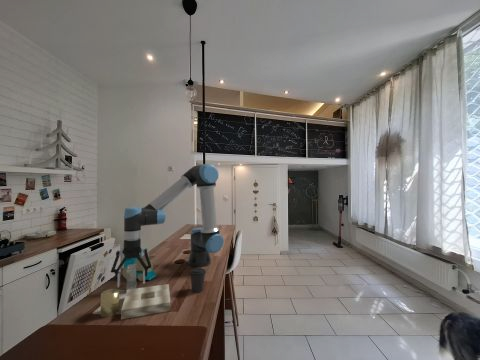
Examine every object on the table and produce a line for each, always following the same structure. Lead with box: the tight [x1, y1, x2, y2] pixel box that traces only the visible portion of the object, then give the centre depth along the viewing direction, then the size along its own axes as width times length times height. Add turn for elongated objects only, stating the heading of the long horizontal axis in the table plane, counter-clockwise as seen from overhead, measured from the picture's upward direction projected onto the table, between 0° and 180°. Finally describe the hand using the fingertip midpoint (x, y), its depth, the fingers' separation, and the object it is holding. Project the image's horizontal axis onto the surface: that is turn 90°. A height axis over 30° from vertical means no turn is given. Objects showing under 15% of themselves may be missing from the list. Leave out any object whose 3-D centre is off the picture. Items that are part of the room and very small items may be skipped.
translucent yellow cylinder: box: [99, 288, 120, 318], centre depth 90 cm, size 6×6×8 cm
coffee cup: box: [189, 267, 207, 294], centre depth 109 cm, size 8×8×10 cm
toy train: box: [122, 251, 157, 282], centre depth 125 cm, size 8×17×15 cm, turn 75°
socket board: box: [120, 283, 171, 321], centre depth 97 cm, size 18×18×4 cm
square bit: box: [125, 264, 138, 294], centre depth 109 cm, size 4×4×12 cm
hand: (131, 284), depth 109 cm, fingers open, 10 cm apart
